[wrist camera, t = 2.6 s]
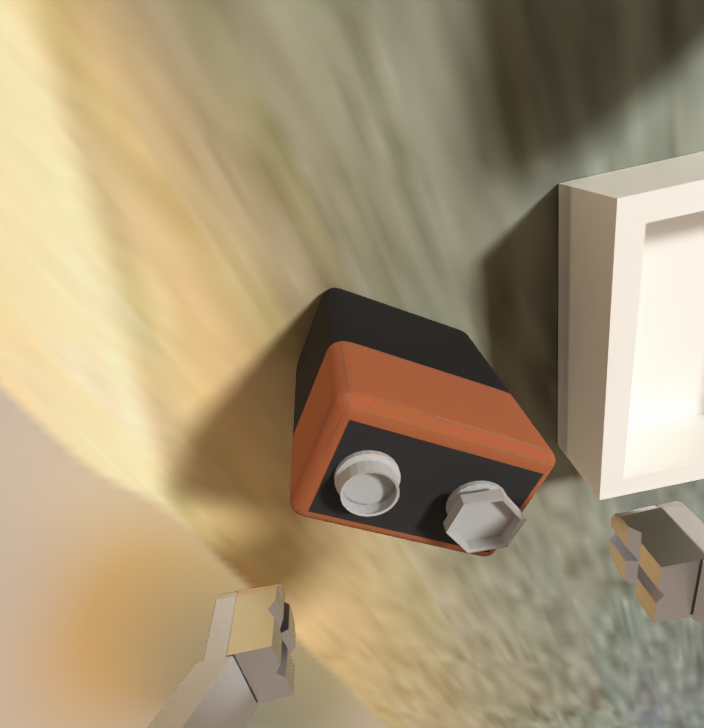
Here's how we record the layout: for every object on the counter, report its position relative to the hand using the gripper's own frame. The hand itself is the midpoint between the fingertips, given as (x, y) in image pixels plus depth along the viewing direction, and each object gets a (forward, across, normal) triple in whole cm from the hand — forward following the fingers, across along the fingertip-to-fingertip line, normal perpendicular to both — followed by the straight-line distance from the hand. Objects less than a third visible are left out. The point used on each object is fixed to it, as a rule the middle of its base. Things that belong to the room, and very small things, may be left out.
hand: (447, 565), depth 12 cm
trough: (+11, -13, 0) cm, 17 cm away
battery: (+11, 0, -1) cm, 11 cm away
